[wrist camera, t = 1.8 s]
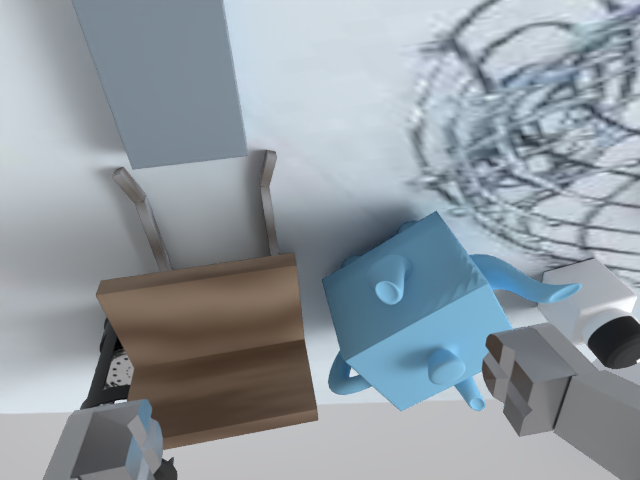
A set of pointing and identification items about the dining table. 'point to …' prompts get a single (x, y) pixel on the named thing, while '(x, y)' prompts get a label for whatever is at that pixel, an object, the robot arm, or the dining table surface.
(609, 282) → the medicine bottle
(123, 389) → the french press
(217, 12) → the shell
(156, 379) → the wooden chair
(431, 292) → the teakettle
